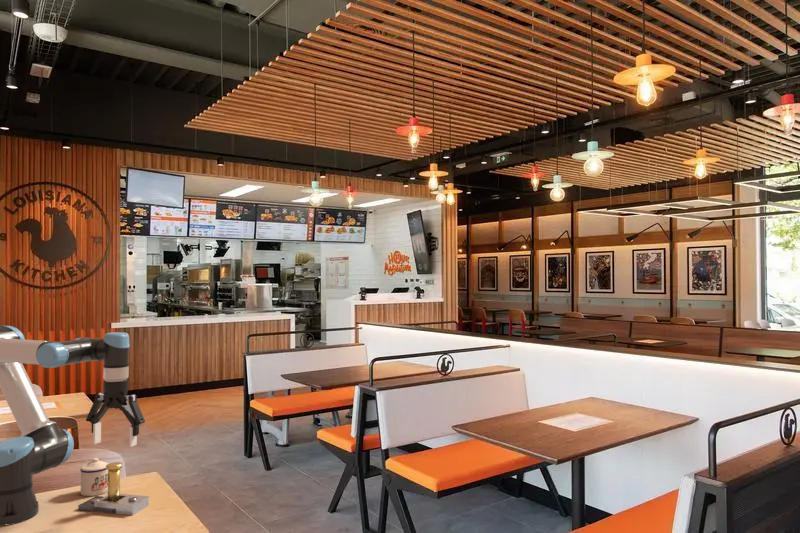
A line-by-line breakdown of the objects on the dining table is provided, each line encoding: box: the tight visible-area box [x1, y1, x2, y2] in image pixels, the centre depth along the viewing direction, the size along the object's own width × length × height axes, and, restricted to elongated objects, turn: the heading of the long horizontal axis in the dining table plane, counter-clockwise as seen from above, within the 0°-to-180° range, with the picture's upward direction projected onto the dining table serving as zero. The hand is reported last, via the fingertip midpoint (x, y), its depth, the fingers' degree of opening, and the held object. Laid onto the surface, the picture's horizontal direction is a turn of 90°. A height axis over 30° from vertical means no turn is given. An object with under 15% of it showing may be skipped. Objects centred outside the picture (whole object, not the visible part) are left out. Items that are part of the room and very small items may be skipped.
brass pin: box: [106, 461, 123, 502], centre depth 184 cm, size 5×5×14 cm
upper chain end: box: [94, 493, 150, 516], centre depth 183 cm, size 14×8×4 cm, turn 78°
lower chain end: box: [77, 495, 116, 514], centre depth 184 cm, size 14×8×2 cm, turn 78°
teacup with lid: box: [80, 457, 110, 497], centre depth 199 cm, size 12×9×12 cm
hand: (114, 444), depth 184 cm, fingers open, 13 cm apart
